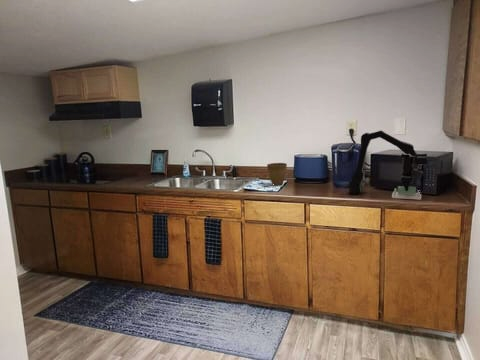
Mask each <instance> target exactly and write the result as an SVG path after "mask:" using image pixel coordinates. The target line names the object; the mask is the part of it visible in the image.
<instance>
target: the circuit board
mask: <svg viewBox="0 0 480 360" xmlns="http://www.w3.org/2000/svg"><path fill="white" fill-rule="evenodd" d="M397 192H398V193H407V194H416V193H417V186H409V188H408V191H405V188H404V186H403V185H401V186H400V185H398V186H397Z"/></svg>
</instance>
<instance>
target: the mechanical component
mask: <svg viewBox="0 0 480 360" xmlns="http://www.w3.org/2000/svg"><path fill="white" fill-rule="evenodd" d="M370 181H371V178H369V177H366V178H365V176H364V179H363V180H362V181H361V182H360V183H359V184H360V186H361V193H363V192H364V186H365V185H366V184H368V183H370Z"/></svg>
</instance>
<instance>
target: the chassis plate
mask: <svg viewBox="0 0 480 360" xmlns="http://www.w3.org/2000/svg"><path fill="white" fill-rule="evenodd" d="M419 191H420V192H419ZM420 193H421V189H420V190H418V189H417V192H416V194H407V193H398V187H397V188H396V187H395V188H394V191H392V194H391V198H392V199H405V200H419V201H420V200H422V193H421V194H420Z"/></svg>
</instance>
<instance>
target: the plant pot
mask: <svg viewBox="0 0 480 360" xmlns="http://www.w3.org/2000/svg"><path fill="white" fill-rule="evenodd" d="M287 166H288V164H287V163H285V162H274V163H268V164H266V167H267V171H268V172H267V173H268V175H269V179H270V182H271V184H272V185H273V184H274V185H280V186H282V185H281V184H284V182H285V177H286V174H287ZM274 185H273V186H274Z"/></svg>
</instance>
